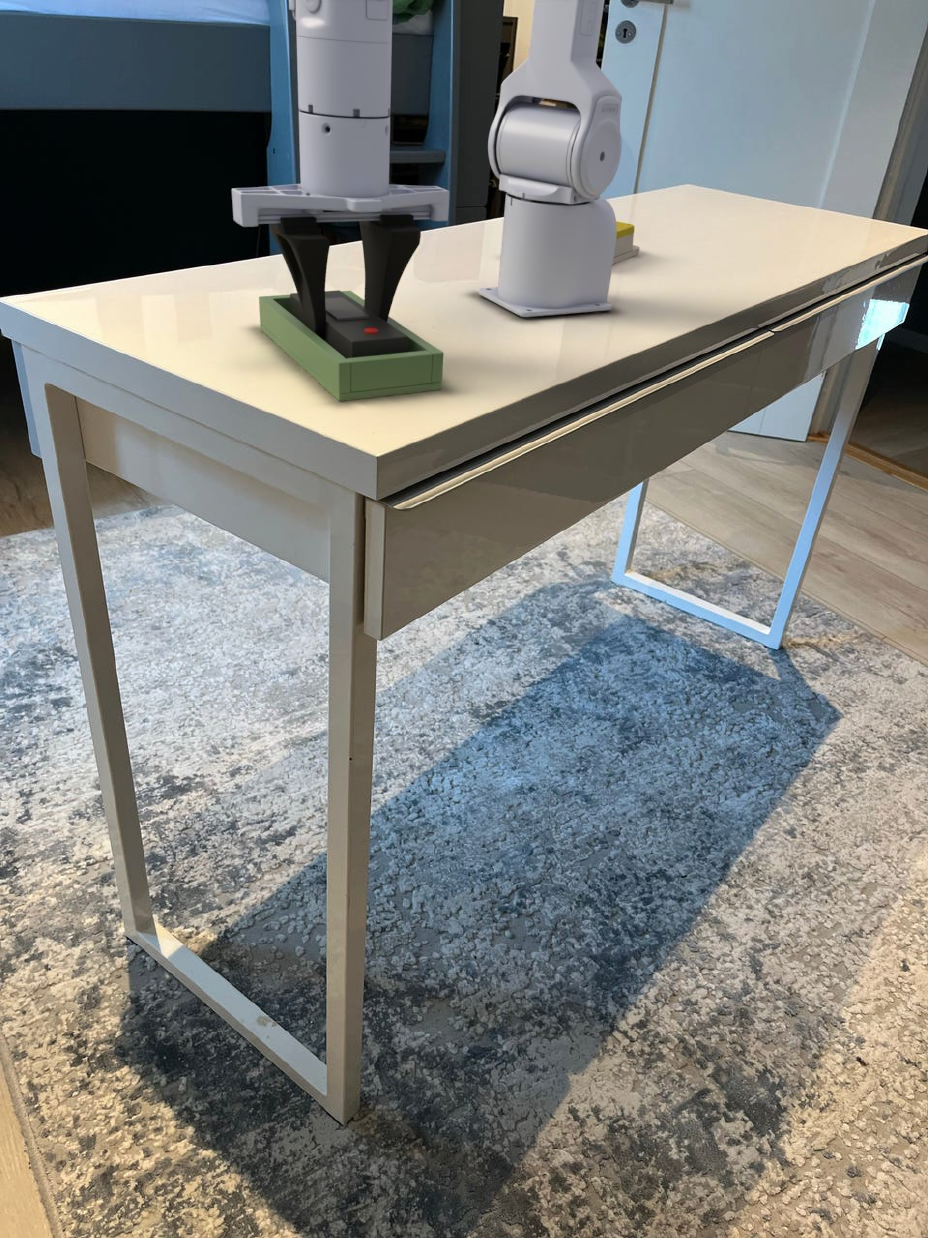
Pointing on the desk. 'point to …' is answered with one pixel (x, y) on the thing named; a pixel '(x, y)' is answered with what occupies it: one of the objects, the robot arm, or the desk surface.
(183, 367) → the desk surface
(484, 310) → the desk surface
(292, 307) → the remote
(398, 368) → the tray
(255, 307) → the desk surface
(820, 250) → the desk surface
